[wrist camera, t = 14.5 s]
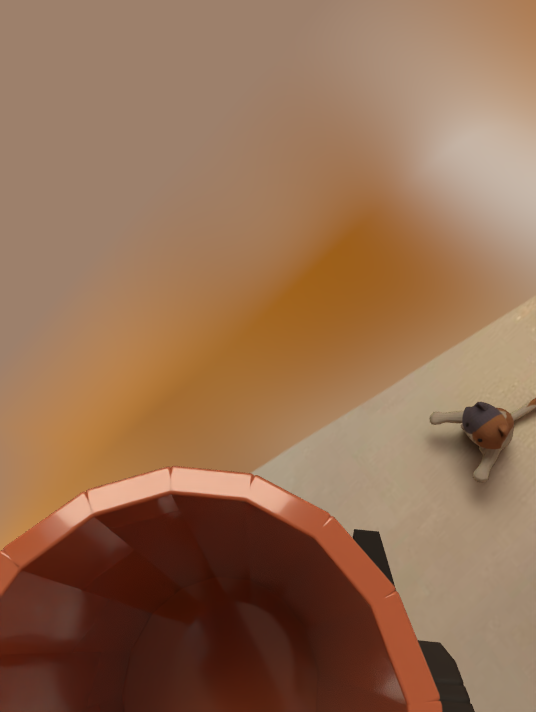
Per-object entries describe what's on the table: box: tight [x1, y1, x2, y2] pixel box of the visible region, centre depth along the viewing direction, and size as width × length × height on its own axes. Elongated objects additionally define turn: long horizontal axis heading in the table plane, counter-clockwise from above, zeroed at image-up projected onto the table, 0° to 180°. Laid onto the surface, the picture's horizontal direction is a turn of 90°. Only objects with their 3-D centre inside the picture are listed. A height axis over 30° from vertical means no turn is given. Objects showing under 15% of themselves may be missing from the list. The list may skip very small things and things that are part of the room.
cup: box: [0, 466, 443, 712], centre depth 12 cm, size 7×7×12 cm
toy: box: [430, 398, 536, 482], centre depth 47 cm, size 8×15×8 cm, turn 119°
